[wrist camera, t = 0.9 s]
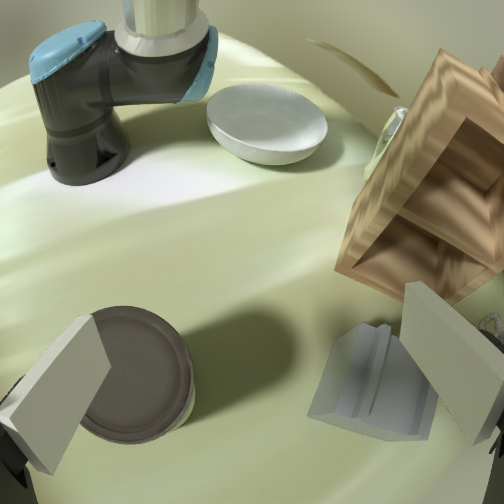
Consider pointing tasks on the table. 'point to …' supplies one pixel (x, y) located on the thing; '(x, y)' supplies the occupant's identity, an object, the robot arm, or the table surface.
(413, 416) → the grey cradle
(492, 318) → the mug
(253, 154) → the serving bowl
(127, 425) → the coffee can
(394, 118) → the beer glass
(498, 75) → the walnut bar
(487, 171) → the oak stand
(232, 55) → the table surface
